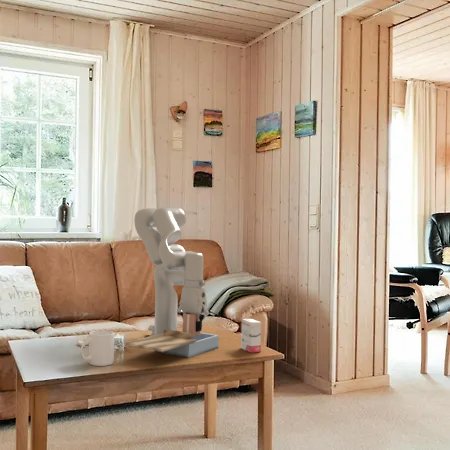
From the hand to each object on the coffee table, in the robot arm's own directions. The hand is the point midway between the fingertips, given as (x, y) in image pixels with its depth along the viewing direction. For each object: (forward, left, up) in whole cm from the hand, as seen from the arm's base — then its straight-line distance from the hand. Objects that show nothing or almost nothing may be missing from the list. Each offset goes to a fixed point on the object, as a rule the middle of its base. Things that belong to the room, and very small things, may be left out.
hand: (192, 329), depth 230 cm
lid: (0, -19, -2) cm, 19 cm away
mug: (-12, -40, -8) cm, 42 cm away
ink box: (+20, +12, -8) cm, 24 cm away
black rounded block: (-37, -19, -8) cm, 43 cm away
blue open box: (0, -3, -7) cm, 8 cm away
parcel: (0, -1, -2) cm, 2 cm away
